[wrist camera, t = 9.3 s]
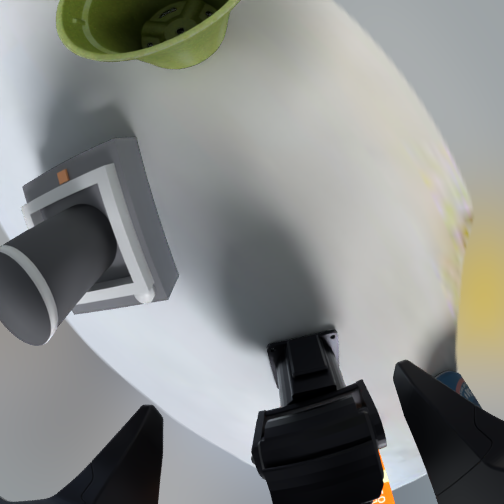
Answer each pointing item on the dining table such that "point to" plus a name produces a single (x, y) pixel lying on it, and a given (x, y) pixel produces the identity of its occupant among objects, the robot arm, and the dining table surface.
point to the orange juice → (385, 491)
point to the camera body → (111, 221)
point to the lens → (52, 270)
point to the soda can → (457, 385)
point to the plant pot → (143, 30)
